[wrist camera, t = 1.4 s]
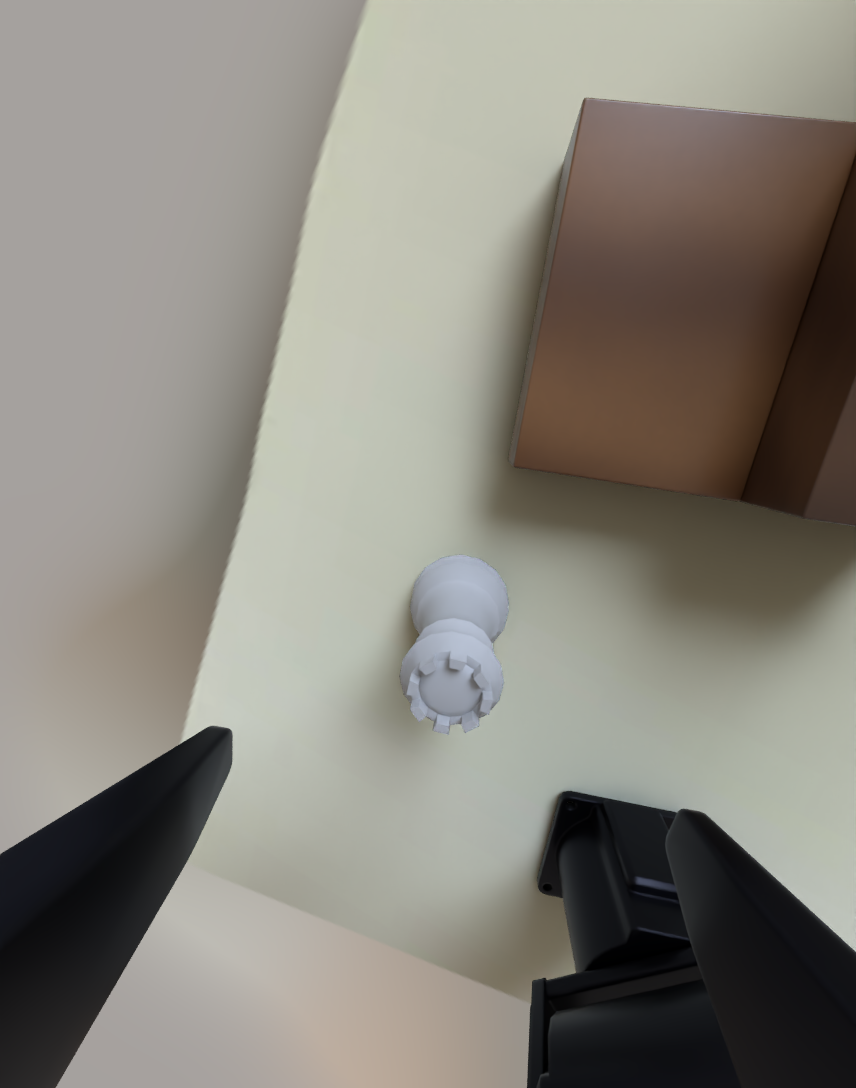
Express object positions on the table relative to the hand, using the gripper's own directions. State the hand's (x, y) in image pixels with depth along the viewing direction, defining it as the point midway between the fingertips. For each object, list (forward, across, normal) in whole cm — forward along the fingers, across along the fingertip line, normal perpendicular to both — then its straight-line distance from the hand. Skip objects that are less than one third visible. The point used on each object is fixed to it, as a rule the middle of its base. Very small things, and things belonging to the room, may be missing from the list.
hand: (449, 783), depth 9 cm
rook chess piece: (+12, 0, +2) cm, 12 cm away
